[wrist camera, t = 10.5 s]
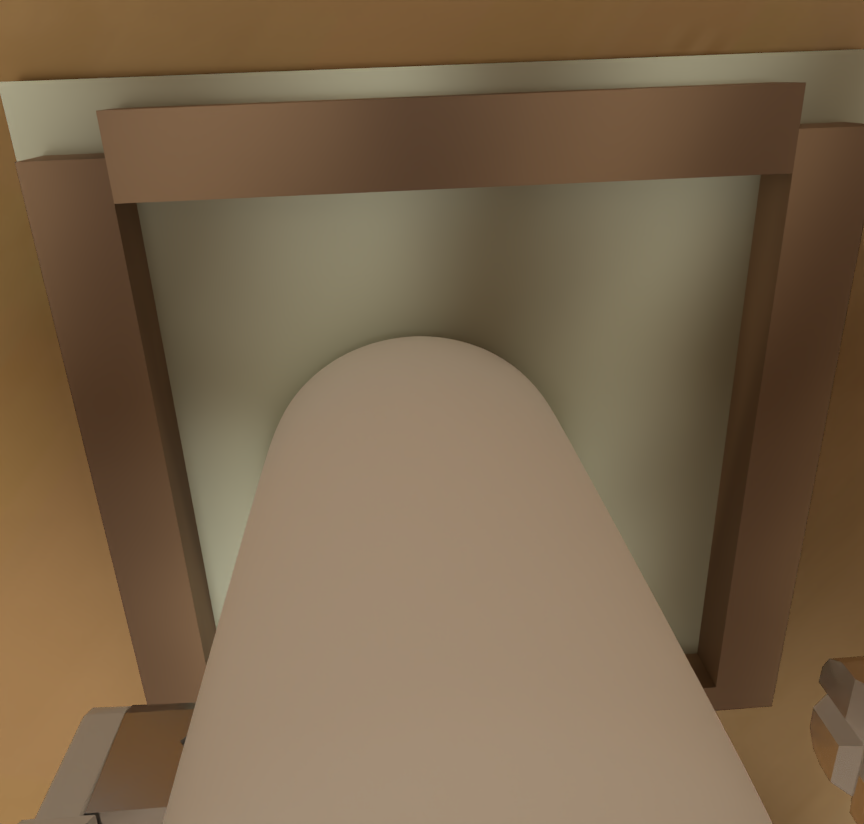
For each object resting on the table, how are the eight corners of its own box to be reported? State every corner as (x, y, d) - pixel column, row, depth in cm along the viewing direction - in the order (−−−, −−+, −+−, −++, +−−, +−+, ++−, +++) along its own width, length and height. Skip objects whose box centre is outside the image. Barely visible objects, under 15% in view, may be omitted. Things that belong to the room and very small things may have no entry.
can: (248, 341, 15) (-61, 980, 4) (563, 316, 16) (999, 863, 5) (290, 599, 18) (162, 1402, 7) (560, 575, 18) (836, 1313, 7)
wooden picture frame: (858, 50, 15) (925, 45, 13) (749, 685, 21) (784, 742, 19) (17, 81, 14) (-37, 82, 12) (168, 727, 21) (147, 791, 19)
